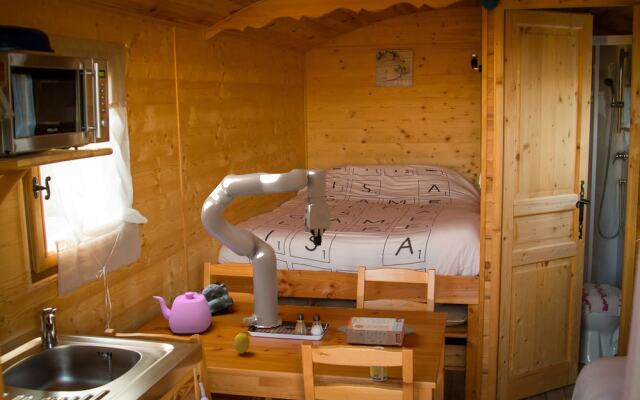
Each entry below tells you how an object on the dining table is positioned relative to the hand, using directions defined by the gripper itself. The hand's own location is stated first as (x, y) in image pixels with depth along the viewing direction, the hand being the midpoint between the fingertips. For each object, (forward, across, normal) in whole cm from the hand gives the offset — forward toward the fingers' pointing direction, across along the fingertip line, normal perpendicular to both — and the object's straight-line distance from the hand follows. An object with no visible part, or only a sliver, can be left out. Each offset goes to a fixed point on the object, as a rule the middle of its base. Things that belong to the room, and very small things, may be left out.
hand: (317, 245), depth 281 cm
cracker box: (+29, 0, -24) cm, 37 cm away
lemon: (+32, -41, -18) cm, 55 cm away
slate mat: (+32, +14, -22) cm, 41 cm away
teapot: (+32, -49, +19) cm, 62 cm away
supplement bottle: (+32, -11, -62) cm, 71 cm away
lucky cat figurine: (+32, -32, +36) cm, 58 cm away
